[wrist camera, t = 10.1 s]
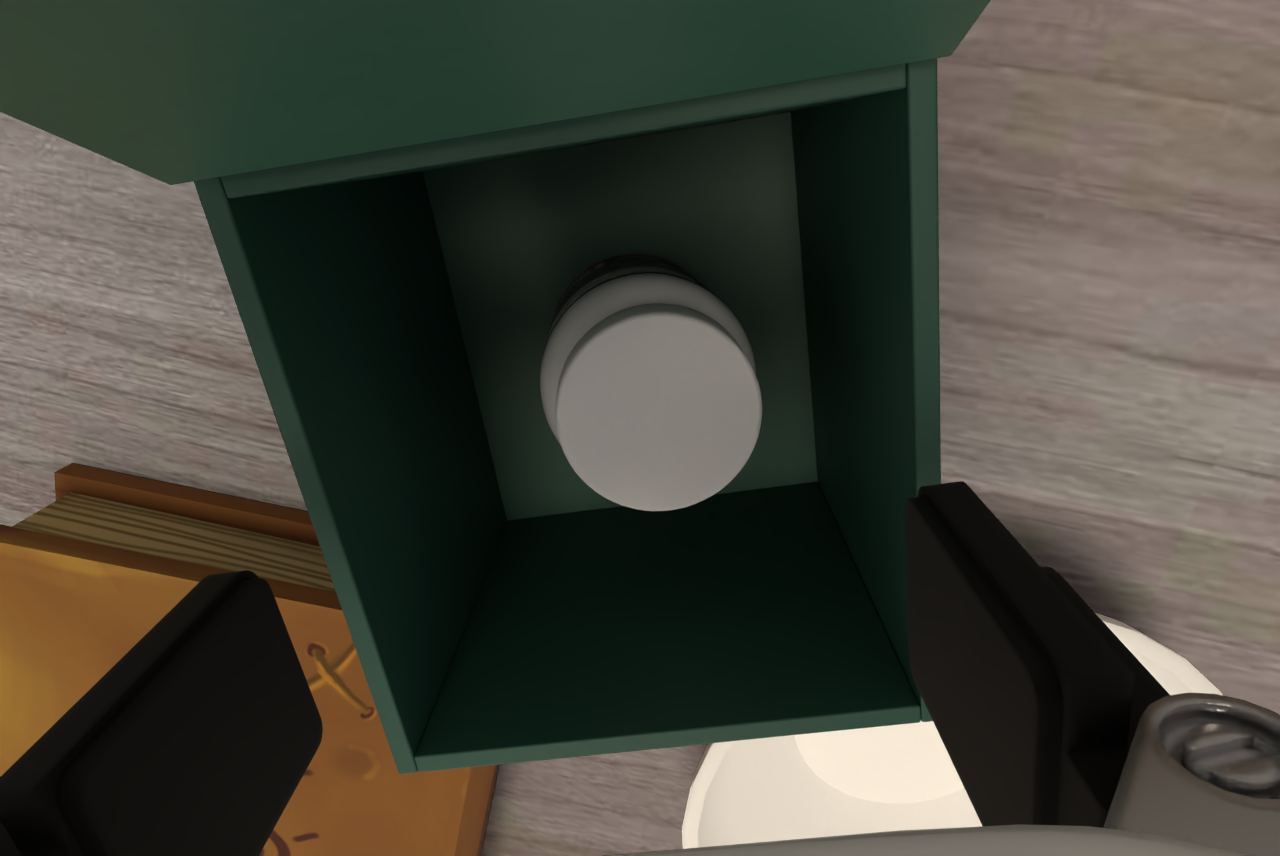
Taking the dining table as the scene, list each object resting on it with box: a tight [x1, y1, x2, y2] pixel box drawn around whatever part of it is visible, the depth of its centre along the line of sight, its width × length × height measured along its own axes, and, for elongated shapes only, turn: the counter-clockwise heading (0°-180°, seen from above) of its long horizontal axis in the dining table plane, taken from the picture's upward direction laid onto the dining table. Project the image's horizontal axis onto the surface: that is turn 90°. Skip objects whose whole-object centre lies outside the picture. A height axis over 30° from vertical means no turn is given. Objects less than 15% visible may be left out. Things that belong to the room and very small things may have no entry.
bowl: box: [682, 613, 1223, 849], centre depth 29 cm, size 20×20×7 cm
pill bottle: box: [540, 254, 762, 511], centre depth 21 cm, size 6×6×10 cm
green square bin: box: [194, 58, 941, 774], centre depth 21 cm, size 14×13×12 cm
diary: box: [0, 463, 499, 856], centre depth 31 cm, size 23×19×6 cm
